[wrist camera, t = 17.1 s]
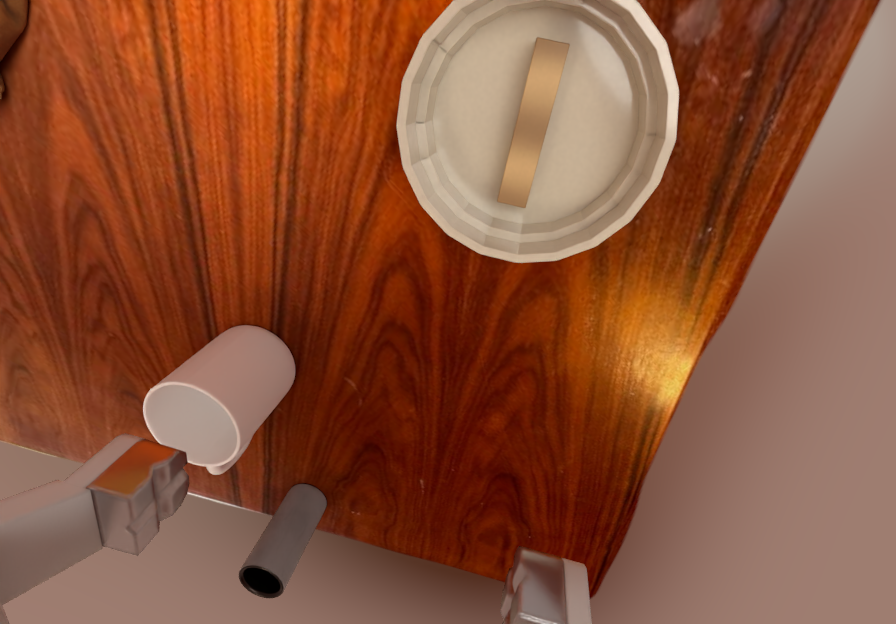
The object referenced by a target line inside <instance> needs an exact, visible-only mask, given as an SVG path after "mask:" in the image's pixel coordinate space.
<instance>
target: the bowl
mask: <svg viewBox="0 0 896 624" xmlns="http://www.w3.org/2000/svg"><path fill="white" fill-rule="evenodd" d="M537 37H540V38H544V39H549V40H554V41H558V42H563V43H568V44H570V47H569V50H568V54H567V58H566V61H565V65H564V69H563V72H562V76H561V80H560V83H559V87H558V91H557V94H556V98H555V102H554V105H553V109H552V113H551V116H550V120H549V124H548V127H547V131H546V135H545V138H544V142H543V146H542V149H541V153H540V157H539V160H538V164H537V168H536V171H535V175H534V179H533V182H532V186H531V190H530V193H529V197H528V201H527V204H526V208H521V207H517V206H513V205H508V204H504V203H500V202H497V199H498V195H499V191H500V186H501V182H502V178H503V174H504V170H505V166H506V162H507V158H508V154H509V149H510V145H511V141H512V137H513V133H514V129H515V125H516V121H517V117H518V112H519V108H520V104H521V100H522V96H523V92H524V88H525V84H526V80H527V76H528V71H529V67H530V63H531V59H532V55H533V51H534V47H535V43H536V39H537ZM678 105H679V87H678V83H677V80H676V76H675V72H674V68H673V64H672V61H671V57H670V53H669V49H668V45H667V43H666V41H665V39H664V38H663V36H662V35H661V33H660V32H659V31H658V29H657V28H656V26H655V25H654V23H653V22H652V21H651V19H650V18H649V16H648V15H647V13H646V12H645V11H644V9H643V8H642V6H641V5H640V3H639V2H637V0H453V1H452V2H451V3H450V5H449V6H448V7H447V8H446V9H445V10H444V11H443V12H442V14H441V15H440V16H439V17H438V18H437V19H436V20H435V22H434V23H433V24H432V25H431V26H430V27H429V28H428V30H427V31H426V32H425V33H424V34H423V36H422V37H421V39H420V41H419V43H418V46H417V48H416V50H415V52H414V55H413V57H412V59H411V61H410V63H409V66H408V68H407V70H406V72H405V75H404V77H403V80H402V85H401V92H400V100H399V107H398V115H397V122H396V128H397V134H398V141H399V147H400V154H401V160H402V167H403V170H404V172H405V174H406V176H407V178H408V180H409V182H410V184H411V186H412V189H413V191H414V193H415V195H416V197H417V199H418V201H419V203H420V205H421V206H422V208H423V209H424V210H425V211H426V212H427V213H428V214H429V215H430V216H431V217H432V219H433V220H434V221H435V222H436V223H437V224H438V225H439V226H440V227H441V229H442V230H443V231H444V232H445V233H446V234H447V235H449V236H450V237H452V238H454V239H455V240H457V241H459V242H460V243H462V244H464V245H465V246H467V247H469V248H470V249H472V250H474V251H475V252H477V253H479V254H482V255H486V256H490V257H494V258H498V259H503V260H507V261H511V262H515V263H526V262H544V261H556V260H560V259H563V258H566V257H568V256H571V255H574V254H577V253H580V252H582V251H585V250H588V249H591V248H593V247H595V246H597V245H599V244H600V243H601V242H603V241H604V240H606V239H607V238H608V237H610V236H611V235H612V234H614V233H615V232H616V231H618V230H619V229H621V228H622V227H623V226H625V225H626V224H627V223H629V222H630V221H631V220H632V219H633V217H634V216H635V215H636V213H637V212H638V211H639V210H640V208H641V207H642V206H643V204H644V203H645V202H646V201H647V199H648V198H649V197H650V195H651V194H652V193H653V191H654V190H655V189H656V188H657V186H658V184H659V183H660V180H661V178H662V175H663V173H664V170H665V167H666V165H667V162H668V160H669V157H670V155H671V152H672V149H673V147H674V144H675V142H676V134H677V120H678Z"/></svg>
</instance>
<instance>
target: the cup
mask: <svg viewBox="0 0 896 624" xmlns="http://www.w3.org/2000/svg"><path fill="white" fill-rule="evenodd" d="M294 378H295V363H294V359H293V356H292V354H291V352H290V350H289V349H288V347H287V346H286V345H285V343H284V342H283V341H282V340H281V339H280V338H279V337H277V336H276V335H275V334H273V333H272V332H270V331H268V330H266V329H263V328H261V327H257V326H251V325H241V326H236V327H232V328H230V329H228V330H226V331H225V332H223V333H222V334H220V335H219V336H218V337H216V338H215V339H214V340H213V341H211V342H210V343H209V344H207V345H206V346H205V347H204V348H202V349H201V350H200V351H199V352H197V353H196V354H195V355H194V356H192V357H191V358H190V359H188V360H187V361H186V362H185V363H183V364H182V365H181V366H180V367H178V368H177V369H176V370H175V371H173V372H172V373H171V374H169V375H168V376H167V377H166V378H164V379H163V380H162V381H161V382H159V383H158V384H157V385H155V386H154V387H153V388H152V389H151V390H150V391H149V392H148V393H147V395H146V397H145V400H144V403H143V414H144V418H145V422H146V424H147V426H148V428H149V430H150V432H151V433H152V435H153V436H154V438H155V439H156V440H157V441H158V442H159V443H160V444H162V445H166V446H169V447H172V448H175V449H178V450H181V451H184V452H186V454H187V462H189V463H192V464H195V465H199V466H206V468H207V470H208V471H209V472H210V473H211V474H213V475H219V474H222V473H224V472H225V471H227V470H228V469H229V468H230V467H231V466H232V465H233V464H234V463H235V462H236V461H237V460H238V459H239V458H240V456H241V455H242V454H243V452H244V451H245V450H246V448H247V446H248V445H249V443H250V441H251V439H252V436H253V434H254V433H255V432H256V430H257V429H258V428H259V427H260V425H261V424H262V423H263V422H264V421H265V419H266V418H267V417H268V416H269V414H270V413H271V412H272V411H273V410H274V408H275V407H276V406H277V405H278V403H279V402H280V401H281V400H282V399H283V397H284V396H285V395H286V394H287V392H288V391H289V389H290V388H291V386H292V384H293V382H294Z"/></svg>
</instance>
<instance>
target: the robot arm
mask: <svg viewBox="0 0 896 624" xmlns="http://www.w3.org/2000/svg"><path fill="white" fill-rule="evenodd" d="M187 463H188V462H187V454H186V452H184V451H181V450H178V449H175V448H172V447H169V446H166V445H162V444H159V443H156V442H153V441H150V440H147V439H143V438H140V437H136V436H133V435H130V434H126V433H125V434H122V435H119V436H117V437H116V438H115V439H113V440H112V441H111V442H110V443H108V444H107V445H106V446H105V447H104V448H102V449H101V450H100V451H99V452H98V453H96V454H95V455H94V456H93V457H92V458H90V459H89V460H88V461H87V462H86V463H84V464H83V465H82V466H81V467H80V468H78V469H77V470H76V471H75V472H74V473H72V474H71V475H70V476H69V477H68V478H66V479H65V480H64V481H59V480H55V481H52V482H50V483H47V484H44V485H41V486H38V487H36V488H33V489H30V490H28V491H24V492H22V493H19V494H16V495H13V496H11V497H8V498H5V499H2V500H0V624H9V622H8V619H7V616H6V614H5V611H4V609H3V606H2V605H3V604H5V603H7V602H9V601H10V600H12V599H14V598H16V597H18V596H19V595H21V594H23V593H24V592H26V591H28V590H30V589H32V588H33V587H35V586H37V585H39V584H40V583H42V582H44V581H46V580H48V579H49V578H51V577H53V576H55V575H56V574H58V573H60V572H62V571H64V570H65V569H67V568H69V567H71V566H72V565H74V564H76V563H78V562H80V561H81V560H83V559H85V558H87V557H88V556H90V555H92V554H94V553H95V552H97V551H99V550H101V549H102V546H104V547H108V548H112V549H115V550H119V551H122V552H126V553H130V554H133V555H137V556H138V555H139V554H140V553H141V552H142V551H143V549H144V548H145V547H146V546H147V545H148V544H149V542H150V541H151V540H152V539H153V538H154V537H155V535H156V534H157V533H158V532H159V525H160V521H161V520H164V519H166V518H168V517H170V516H172V515H173V514H174V513H175V512H176V511H177V509H178V508H179V507H180V506H181V504H182V502H183V500H184V498H185V496H186V494H187V491H188V487H189V476H188V474H187V473H186V472H185V470H184V469H183V467H184V466H185V465H186V464H187ZM501 614H502V616H503V618H504V621H503V624H592V620H591V610H590V599H589V589H588V578H587V569H586V567H585V565H584V564H581V563H578V562H574V561H571V560H567V559H564V558H561V557H559V556H555V555H551V554H547V553H544V552H540V551H536V550H533V549H529V548H525V547H521V546H519V547H518V548H517V550H516V552H515V555H514V564H513V567H512V568H509V571H508V574H507V576H506V580H505V584H504V589H503V595H502V602H501Z"/></svg>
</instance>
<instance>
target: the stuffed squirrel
mask: <svg viewBox="0 0 896 624" xmlns="http://www.w3.org/2000/svg"><path fill="white" fill-rule="evenodd" d="M27 12H28V0H0V61H1V60H2V59H3V57H4V56H5V54H6V53H7V52H8V50H9V49H10V48H11V46H12V45H13V43H14V42H15V41H16V40H17V38H18V37H19V35H20V34H21V33H22V32H23V30H24V28H25V26H26V23H27ZM2 92H4V82H3V79H2V76H1V74H0V99H2V98H1V95H2Z"/></svg>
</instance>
